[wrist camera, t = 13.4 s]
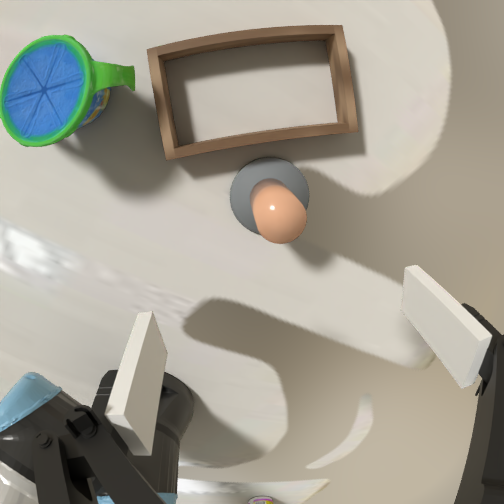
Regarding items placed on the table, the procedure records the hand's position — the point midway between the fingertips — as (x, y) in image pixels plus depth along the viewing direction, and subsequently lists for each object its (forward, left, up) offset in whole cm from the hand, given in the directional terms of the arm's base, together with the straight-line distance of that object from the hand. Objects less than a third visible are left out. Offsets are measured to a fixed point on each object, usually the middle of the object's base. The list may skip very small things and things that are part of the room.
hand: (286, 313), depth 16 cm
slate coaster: (0, -2, -23) cm, 23 cm away
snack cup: (+17, +17, -23) cm, 33 cm away
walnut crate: (+13, -2, -23) cm, 26 cm away
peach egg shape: (0, -2, -22) cm, 22 cm away
